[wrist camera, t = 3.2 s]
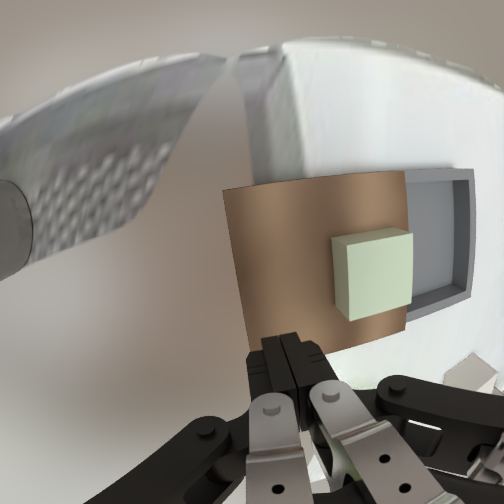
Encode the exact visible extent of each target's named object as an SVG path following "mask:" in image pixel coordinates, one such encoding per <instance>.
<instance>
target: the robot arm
mask: <svg viewBox="0 0 504 504" xmlns="http://www.w3.org/2000/svg"><path fill="white" fill-rule="evenodd" d="M31 244H32V223H31V216H30V212H29V208H28V205H27V203H26V200H25V198H24V196H23V195H22V193H21V191H20V190H19V189H18V188H17V187H16V186H15V185H14V184H12V183H10V182H8V181H0V281H1V280H3V279H5V278H7V277H9V276H11V275H13V274H15V273H16V272H18V271H19V270H21V268H22V267H23V266H24V265H25V263H26V261H27V259H28V257H29V253H30V250H31ZM261 345H262V350H258V351H252V352H250V353H249V355H248V357H247V359H246V364H247V372H248V380H249V387H250V395H251V404H250V407H249V409H248V410H247V411H246V412H245V413H244V414H243V415H242V416H240V417H238V418H236V419H234V420H231V421H228V422H226V421H224V420H223V419H221V418H219V417H215V416H204V417H200V418H197V419H195V420H193V421H192V422H190V423H189V424H188V425H187V426H186V427H184V428H183V429H182V430H181V431H180V432H179V433H177V434H176V435H175V436H174V437H173V438H171V439H170V440H169V441H168V442H167V443H165V444H164V445H163V446H162V447H161V448H159V449H158V450H157V451H156V452H154V453H153V454H152V455H150V456H149V457H148V458H147V459H145V460H144V461H143V462H141V463H140V464H139V465H138V466H136V467H135V468H134V469H132V470H131V471H130V472H128V473H127V474H126V475H124V476H123V477H121V478H120V479H119V480H117V481H116V482H115V483H113V484H112V485H110V486H109V487H107V488H106V489H105V490H103V491H102V492H100V493H99V494H97V495H96V496H94V497H93V498H91V499H90V500H88V501H87V502H85V503H84V504H222V503H223V501H225V500H226V498H227V497H228V496H229V495H230V494H231V493H232V492H233V491H234V489H236V487H237V486H238V485H239V484H240V483H241V482H242V480H243V478H244V476H246V504H504V396H500V395H494V394H488V393H482V392H477V391H471V390H466V389H461V388H456V387H451V386H446V385H442V384H437V383H433V382H428V381H424V380H420V379H416V378H412V377H408V376H403V375H392V376H388V377H386V378H384V379H383V380H381V381H380V382H379V384H378V386H377V389H370V390H354V389H352V388H351V387H350V386H349V385H348V384H347V383H345V382H343V381H339V379H338V378H337V376H336V374H335V372H334V371H333V369H332V367H331V365H330V364H329V362H328V360H327V359H326V357H325V355H324V354H323V352H322V350H321V348H320V346H319V345H318V344H316V343H314V342H313V341H311V340H309V341H304V342H301V340H300V338H299V336H298V334H297V332H291V333H286V334H280V335H279V337H278V335H276V336H270V337H265V338H261ZM409 420H413V421H417V422H420V423H424V424H428V425H431V426H435V427H439V428H440V429H442V430H436V429H432V428H428V427H424V426H420V425H417V424H413V423H410V422H408V421H409ZM299 425H300V427H299ZM300 428H301V431H302V432H303V431H306V430H309V432H310V435H311V446H312V448H313V450H314V453H315V455H316V457H317V459H318V461H319V464H320V466H321V468H322V470H323V472H324V474H325V477H326V479H327V481H328V483H329V487H330V493H316V494H312V491H311V485H310V480H309V475H308V470H307V464H306V459H305V454H304V450H303V448H302V447H301V441H300V436H299V432H300ZM425 466H428V467H431V468H435V469H439V470H443V471H447V472H451V473H456V474H460V475H465V476H467V477H468V478H464V477H460V476H456V475H452V474H448V473H445V472H441V471H438V470H434V469H429V468H426V467H425Z"/></svg>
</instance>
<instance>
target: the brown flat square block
mask: <svg viewBox="0 0 504 504" xmlns="http://www.w3.org/2000/svg"><path fill="white" fill-rule="evenodd" d="M223 198H224V204H225V210H226V216H227V222H228V228H229V234H230V240H231V246H232V252H233V258H234V263H235V269H236V275H237V280H238V286H239V291H240V297H241V303H242V308H243V314H244V319H245V325H246V330H247V336H248V341H249V346H250V351H251V352H252V351H258V350H262V345H261V338H265V337H270V336H276V335H278V337H279V335H280V334H286V333H291V332H297V334H298V336H299V338H300V340H301V342H304V341H309V340H311V341H313V342H314V343H316V344H318V345H319V346H320V348H321V350H322V352H323V354H324V355H325V354H329V353H333V352H337V351H340V350H344V349H347V348H351V347H354V346H358V345H361V344H364V343H368V342H371V341H374V340H377V339H380V338H383V337H386V336H389V335H392V334H395V333H398V332H401V331H404V330H405V324H406V313H407V305H404V306H401V307H398V308H395V309H391V310H388V311H385V312H381V313H378V314H375V315H371V316H368V317H364V318H360V319H357V320H353V321H349V320H348V319H347V318H346V317H345V316H344V315H343V314H342V313H341V312H340V311H339V309H338V308H337V307H336V305H335V284H334V267H333V254H332V241H331V238H333V237H339V236H345V235H351V234H356V233H362V232H368V231H374V230H380V229H386V228H391V227H394V228H397V229H401V230H404V231H408V232H409V226H408V206H407V193H406V182H405V172H404V171H384V172H368V173H355V174H344V175H334V176H324V177H314V178H306V179H297V180H289V181H281V182H274V183H267V184H260V185H253V186H246V187H240V188H234V189H227V190H223Z"/></svg>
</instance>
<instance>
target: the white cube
mask: <svg viewBox="0 0 504 504" xmlns="http://www.w3.org/2000/svg"><path fill="white" fill-rule="evenodd" d="M497 375H498V371H496V370H495V369H494V368H492V367H491V366H490V365H489V364H487V363H486V362H485V361H483V360H482V359H481V358H480V357H478V356H477V355H476V354H474V353H472V354H471V355H470V356H468V357H467V358H466V359H464V360H463V361H462V362H460V363H459V364H457V365H456V366H455V367H453V368H452V369H450V370H449V371H447V372H446V373H445V375H444V382H443V385H446V386H451V387H456V388H461V389H466V390H471V391H477V392H482V393H488V394H492V391H493V388H494V384H495V381H496V378H497Z"/></svg>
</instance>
